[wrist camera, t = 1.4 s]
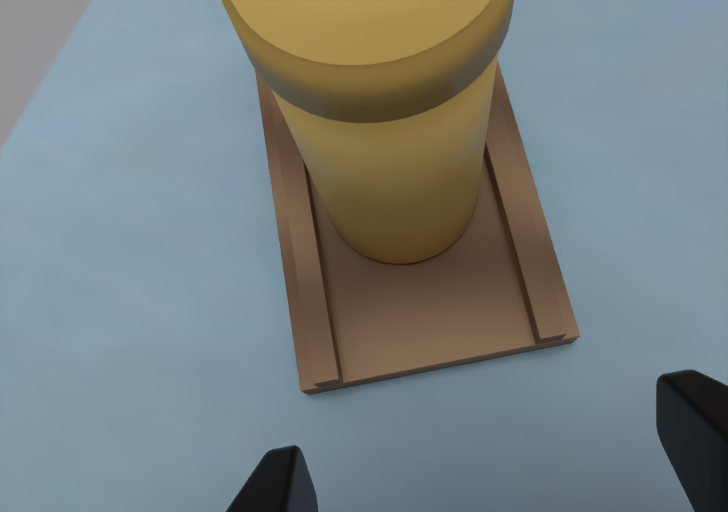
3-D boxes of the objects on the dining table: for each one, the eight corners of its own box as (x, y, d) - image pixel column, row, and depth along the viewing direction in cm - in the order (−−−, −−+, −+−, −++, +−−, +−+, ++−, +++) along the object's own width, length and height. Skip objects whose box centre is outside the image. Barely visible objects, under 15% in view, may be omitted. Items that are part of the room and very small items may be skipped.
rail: (572, 342, 20) (709, 222, 10) (308, 394, 21) (179, 331, 11) (447, -80, 27) (453, -426, 16) (246, -33, 27) (125, -339, 17)
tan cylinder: (499, 249, 20) (576, -20, 9) (335, 283, 20) (207, 65, 9) (461, 106, 22) (484, -269, 11) (311, 139, 22) (178, -192, 11)
